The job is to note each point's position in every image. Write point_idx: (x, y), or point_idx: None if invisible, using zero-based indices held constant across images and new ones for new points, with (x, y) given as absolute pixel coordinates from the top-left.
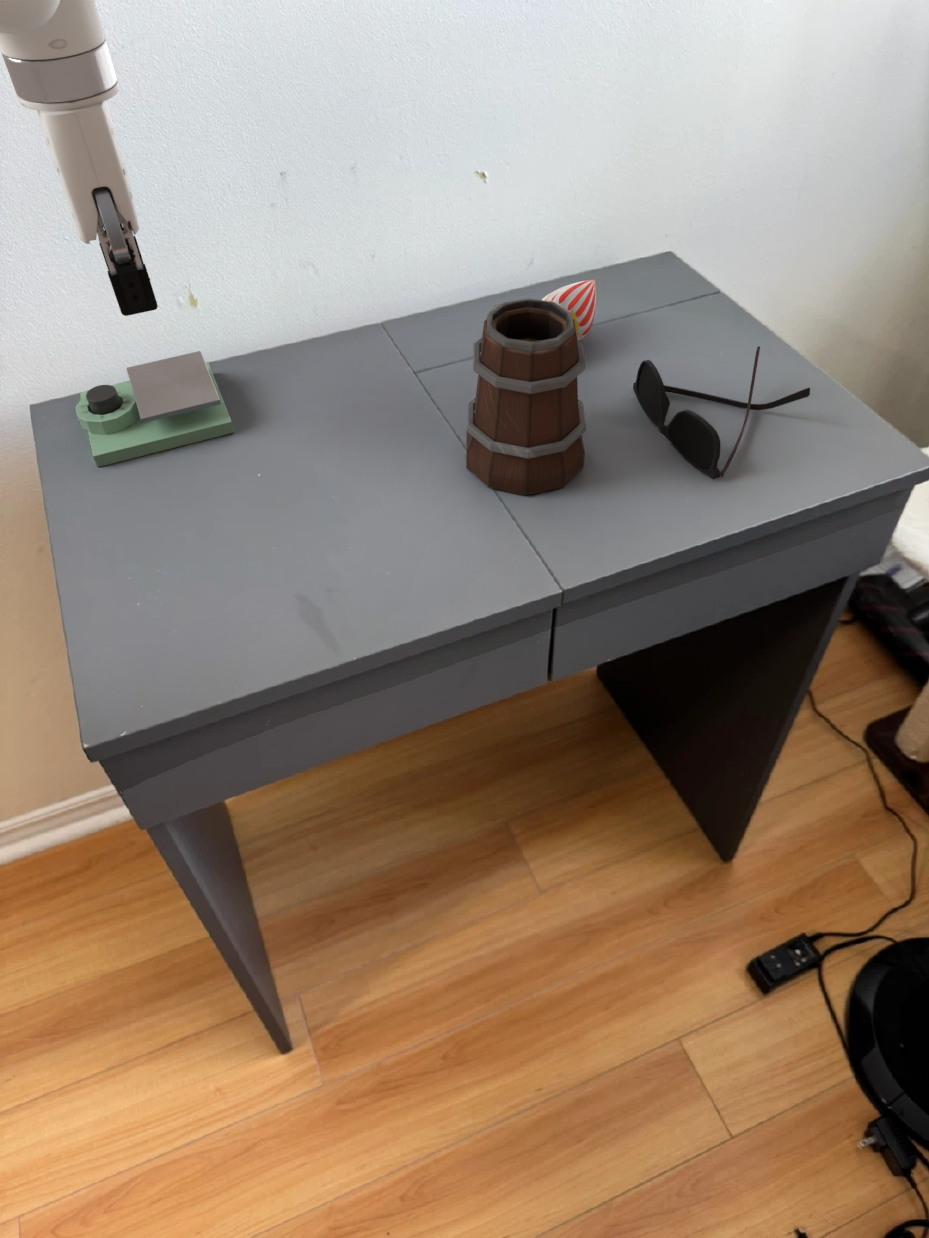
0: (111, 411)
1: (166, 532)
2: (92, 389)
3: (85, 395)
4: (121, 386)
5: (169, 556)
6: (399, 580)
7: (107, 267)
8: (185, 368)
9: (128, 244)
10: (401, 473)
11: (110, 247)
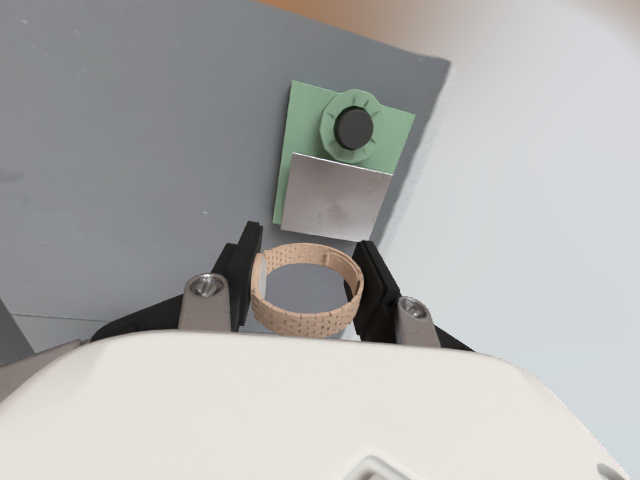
0: (336, 130)
1: (149, 104)
2: (370, 123)
3: (405, 118)
4: (392, 159)
5: (106, 91)
6: (32, 245)
7: (372, 257)
8: (349, 222)
9: (360, 324)
10: (164, 290)
11: (345, 306)
